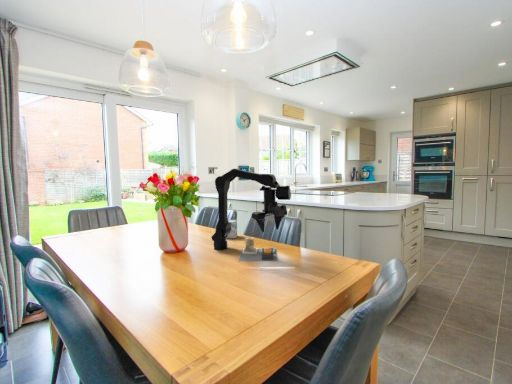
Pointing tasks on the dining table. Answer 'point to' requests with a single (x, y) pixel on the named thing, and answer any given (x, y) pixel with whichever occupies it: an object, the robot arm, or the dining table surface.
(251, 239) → the block
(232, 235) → the light bulb box
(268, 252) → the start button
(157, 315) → the dining table surface
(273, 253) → the grey shape sorting board
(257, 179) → the robot arm
